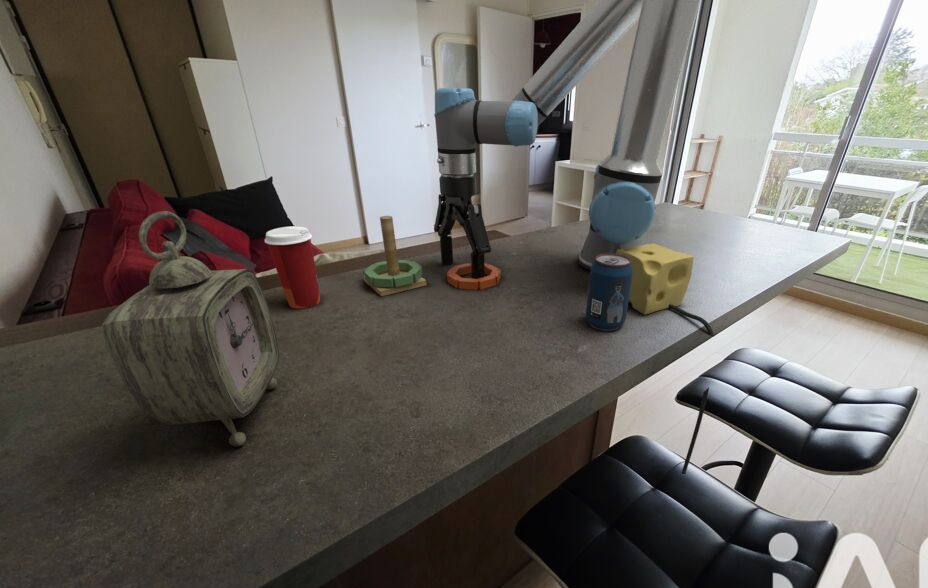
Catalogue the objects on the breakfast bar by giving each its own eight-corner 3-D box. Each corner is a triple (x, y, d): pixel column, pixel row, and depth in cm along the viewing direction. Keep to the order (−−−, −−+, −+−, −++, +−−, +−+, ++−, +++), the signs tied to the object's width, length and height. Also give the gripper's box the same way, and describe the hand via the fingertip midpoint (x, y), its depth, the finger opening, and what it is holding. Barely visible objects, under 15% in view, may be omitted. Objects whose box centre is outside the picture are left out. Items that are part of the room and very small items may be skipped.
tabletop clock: (250, 456, 46) (160, 232, 34) (159, 466, 44) (31, 237, 32) (290, 379, 58) (234, 196, 46) (220, 385, 57) (144, 199, 45)
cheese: (644, 316, 76) (653, 264, 71) (607, 294, 84) (613, 247, 80) (685, 305, 80) (696, 256, 76) (645, 286, 89) (653, 240, 84)
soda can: (599, 311, 78) (607, 249, 72) (632, 323, 74) (642, 259, 68) (577, 322, 74) (583, 258, 68) (610, 337, 69) (619, 269, 64)
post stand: (426, 285, 88) (420, 218, 81) (381, 296, 83) (370, 226, 76) (407, 271, 95) (399, 209, 88) (364, 281, 90) (352, 215, 83)
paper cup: (333, 295, 83) (318, 226, 77) (313, 312, 77) (295, 238, 70) (296, 293, 84) (278, 224, 77) (273, 310, 77) (251, 236, 71)
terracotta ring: (509, 281, 90) (509, 274, 89) (465, 293, 84) (464, 285, 84) (481, 266, 98) (481, 259, 97) (439, 277, 92) (438, 269, 91)
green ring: (429, 279, 87) (429, 271, 86) (378, 291, 81) (376, 283, 81) (407, 264, 95) (406, 256, 94) (359, 274, 89) (357, 266, 88)
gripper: (414, 168, 91) (422, 259, 101) (474, 186, 74) (477, 294, 84) (444, 166, 95) (449, 254, 105) (508, 182, 78) (507, 286, 88)
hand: (462, 272), depth 95 cm, fingers open, 13 cm apart
